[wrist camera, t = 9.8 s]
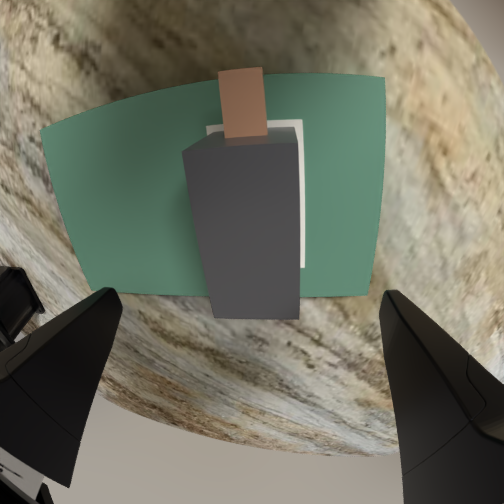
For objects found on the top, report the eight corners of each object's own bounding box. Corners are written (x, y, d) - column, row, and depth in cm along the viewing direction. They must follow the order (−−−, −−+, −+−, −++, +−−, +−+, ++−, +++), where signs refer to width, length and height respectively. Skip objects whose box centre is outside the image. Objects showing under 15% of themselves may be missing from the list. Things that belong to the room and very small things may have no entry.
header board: (363, 282, 20) (376, 326, 16) (99, 280, 23) (74, 313, 19) (376, 78, 13) (406, 75, 9) (52, 125, 16) (10, 140, 12)
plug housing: (297, 262, 18) (299, 319, 14) (231, 262, 18) (214, 318, 14) (290, 70, 12) (292, 59, 8) (207, 78, 13) (170, 74, 8)
